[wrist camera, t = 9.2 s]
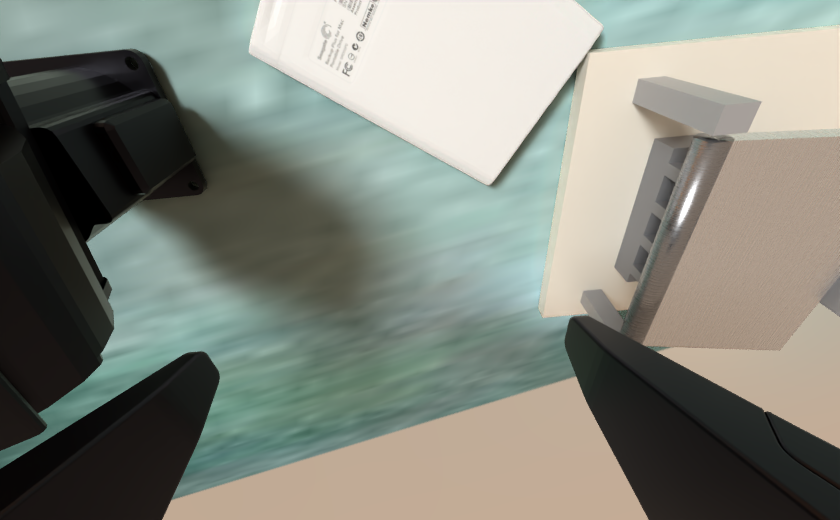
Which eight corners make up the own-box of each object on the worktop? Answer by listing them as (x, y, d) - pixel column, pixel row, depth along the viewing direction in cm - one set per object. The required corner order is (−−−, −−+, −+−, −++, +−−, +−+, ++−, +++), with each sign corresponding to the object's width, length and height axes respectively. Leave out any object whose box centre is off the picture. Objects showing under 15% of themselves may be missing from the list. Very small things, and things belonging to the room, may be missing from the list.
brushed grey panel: (622, 348, 19) (782, 353, 18) (704, 144, 12) (965, 133, 11) (614, 331, 20) (766, 335, 19) (686, 133, 13) (926, 122, 12)
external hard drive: (483, 176, 20) (257, 50, 16) (590, 23, 16) (323, -202, 11) (489, 188, 18) (244, 55, 14) (608, 25, 14) (314, -229, 10)
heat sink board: (538, 307, 25) (586, 412, 19) (580, 50, 16) (708, 82, 9) (732, 289, 25) (849, 387, 19) (893, 19, 16) (1246, 28, 9)
